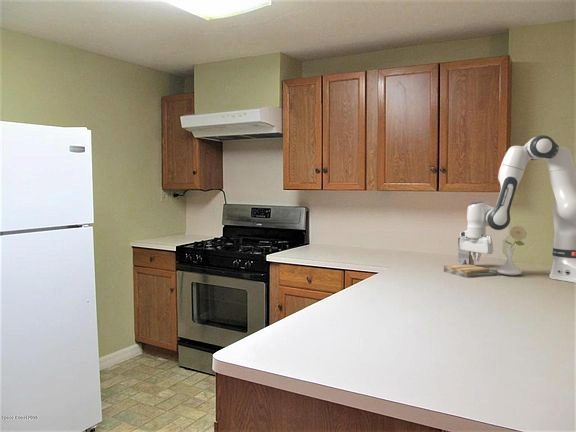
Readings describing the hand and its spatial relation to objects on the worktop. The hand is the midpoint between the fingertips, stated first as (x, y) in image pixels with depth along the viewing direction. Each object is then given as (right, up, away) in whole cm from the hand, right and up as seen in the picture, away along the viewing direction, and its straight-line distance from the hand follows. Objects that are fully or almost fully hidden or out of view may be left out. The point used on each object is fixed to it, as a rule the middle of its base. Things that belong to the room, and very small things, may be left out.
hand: (476, 261), depth 240 cm
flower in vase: (+16, -7, -3) cm, 18 cm away
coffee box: (+2, -5, +20) cm, 21 cm away
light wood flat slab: (-4, -5, -1) cm, 6 cm away
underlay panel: (-3, -6, 0) cm, 7 cm away
